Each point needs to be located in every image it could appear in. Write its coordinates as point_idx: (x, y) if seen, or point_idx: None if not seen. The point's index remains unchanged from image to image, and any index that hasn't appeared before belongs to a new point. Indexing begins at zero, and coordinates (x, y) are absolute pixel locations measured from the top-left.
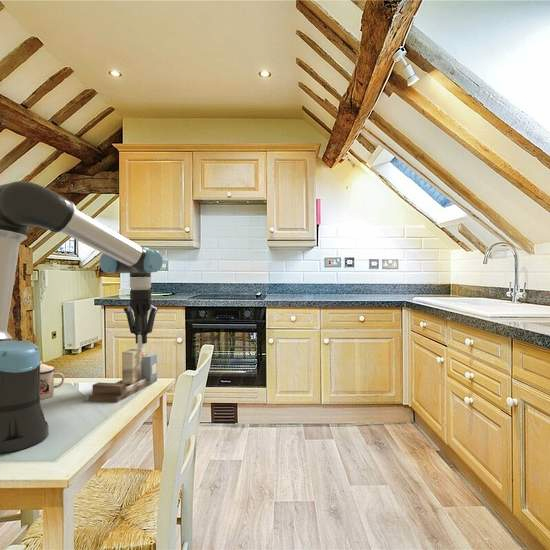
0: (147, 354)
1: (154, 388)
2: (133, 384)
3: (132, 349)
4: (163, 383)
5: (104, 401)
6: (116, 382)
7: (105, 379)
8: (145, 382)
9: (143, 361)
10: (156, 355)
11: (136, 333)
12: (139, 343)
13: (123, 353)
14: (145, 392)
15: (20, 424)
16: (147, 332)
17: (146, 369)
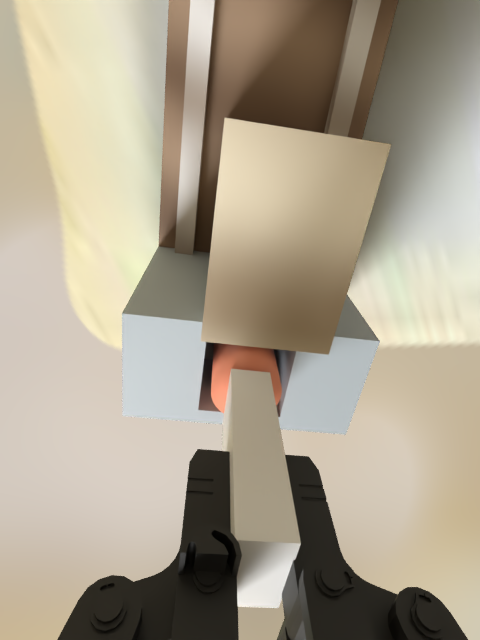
0: (203, 409)
1: (93, 148)
2: (198, 63)
3: (308, 336)
4: (96, 263)
5: None
6: (347, 124)
7: (457, 331)
8: (166, 191)
9: (198, 302)
10: (125, 404)
11: (326, 579)
12: (257, 442)
13: (363, 140)
14: (103, 38)
15: None
16: (102, 595)
17: (178, 274)
